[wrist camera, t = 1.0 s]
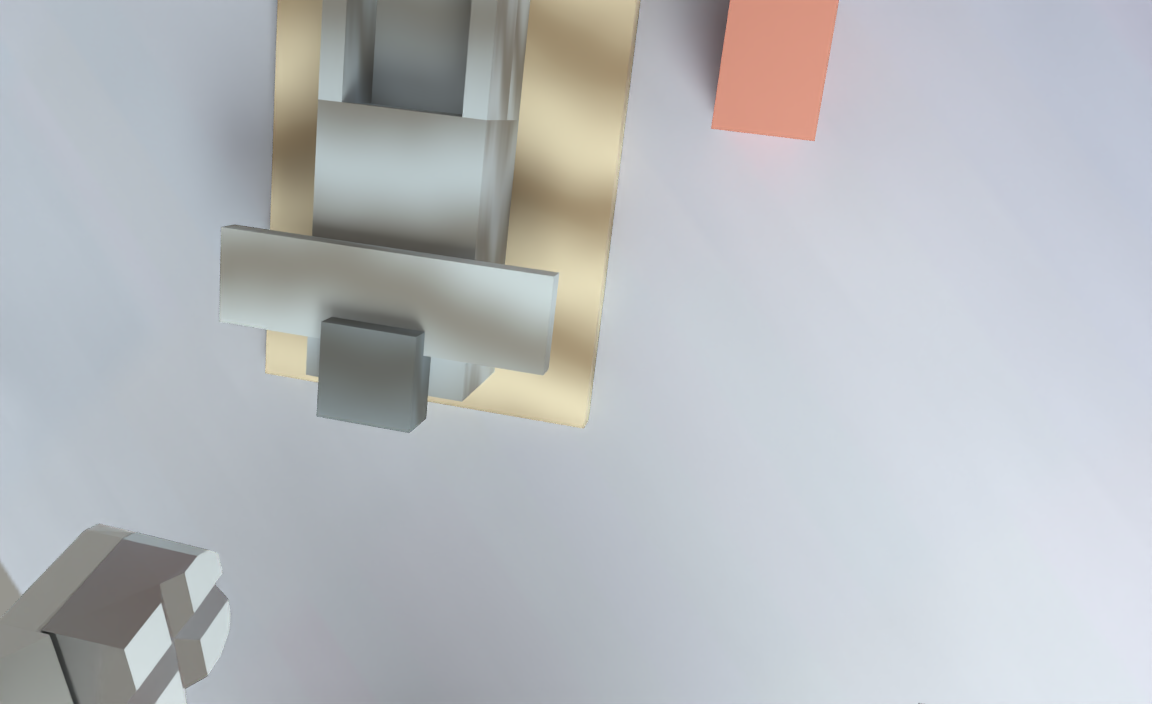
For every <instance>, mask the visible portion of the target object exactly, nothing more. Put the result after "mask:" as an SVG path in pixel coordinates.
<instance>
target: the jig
mask: <svg viewBox="0 0 1152 704" xmlns="http://www.w3.org/2000/svg"><path fill="white" fill-rule="evenodd" d="M639 8H640V0H278V6H277V36H276V66H275V96H274V126H273V156H272V186H271V216H270V230H268V229H261V228H254V227H247V226H240V225H229V226H224V227H221V259H220V308H219V322H223V323H229V324H235V325H241V326H247V327H253V328H259V329H265V330H267V336H266V365H265V373H267V374H272V375H278V376H284V377H290V378H296V379H301V380H307V381H313V382H318V398H317V417H323V418H329V419H334V420H340V421H345V422H351V423H356V424H362V425H368V426H373V427H379V428H384V429H390V430H396V431H401V432H407V433H410V432H411V431H412V430H413V429H414V428H416V427H417V426H418V425H419V424H420V423H421V422H422V421H424V420H425V419H426V414H427V401H428V402H434V403H440V404H446V405H452V406H457V407H463V408H469V409H475V410H480V411H486V412H492V413H498V414H503V415H509V416H515V417H521V418H527V419H532V420H538V421H544V422H550V423H555V424H561V425H567V426H573V427H579V428H584V427H585V425H586V424H587V422H588V419H589V411H590V403H591V395H592V387H593V379H594V371H595V363H596V355H597V346H598V338H599V330H600V322H601V314H602V306H603V298H604V290H605V282H606V274H607V266H608V258H609V250H610V242H611V234H612V225H613V217H614V209H615V201H616V193H617V185H618V177H619V169H620V161H621V153H622V145H623V137H624V129H625V121H626V113H627V104H628V96H629V88H630V80H631V72H632V64H633V56H634V48H635V40H636V32H637V24H638V16H639Z"/></svg>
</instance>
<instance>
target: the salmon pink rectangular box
mask: <svg viewBox="0 0 1152 704" xmlns="http://www.w3.org/2000/svg"><path fill="white" fill-rule="evenodd" d="M838 2H839V0H730V3H729V10H728V17H727V24H726V31H725V38H724V44H723V51H722V58H721V65H720V72H719V79H718V85H717V92H716V99H715V106H714V113H713V120H712V126H711V129H719V130H727V131H736V132H744V133H752V134H760V135H769V136H777V137H785V138H793V139H802V140H810V141H815V135H816V129H817V123H818V117H819V112H820V106H821V100H822V94H823V89H824V83H825V77H826V71H827V66H828V60H829V54H830V48H831V43H832V37H833V31H834V25H835V20H836V14H837V8H838Z"/></svg>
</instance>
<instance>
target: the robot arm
mask: <svg viewBox="0 0 1152 704" xmlns="http://www.w3.org/2000/svg"><path fill="white" fill-rule="evenodd" d="M222 574H223V570H222V566H221V562H220V558H219V554H218V553H217V552H214V551H210V550H207V549H203V548H199V547H195V546H191V545H187V544H183V543H179V542H175V541H171V540H167V539H163V538H158V537H154V536H150V535H146V534H142V533H138V532H133V531H129V530H124V529H120V528H116V527H112V526H107V525H103V524H97V525H95V526H93V527H90V528H88V529H86V530H85V531H83V532H82V533H81V534H80V535H79V536H78V537H77V538H76V540H75V541H74V542H73V543H72V544H71V545H70V546H69V547H68V548H67V549H66V550H65V551H64V552H63V553H62V554H61V555H60V556H59V557H58V558H57V559H56V560H55V562H54V563H53V564H52V565H51V566H50V567H49V568H48V569H47V570H46V571H45V572H44V573H43V574H42V575H41V576H40V577H39V578H38V579H37V580H36V581H35V582H34V583H33V585H32V586H31V587H30V588H29V589H28V590H27V591H26V592H25V593H24V594H23V595H22V596H21V597H20V598H19V599H18V600H17V601H16V602H15V603H14V604H13V605H12V606H11V608H10V609H9V610H8V611H7V612H6V613H5V614H4V615H3V616H2V617H1V618H0V704H187V699H186V688H187V687H189V686H191V685H193V684H195V683H196V682H198V681H200V680H202V679H203V678H205V677H207V676H208V675H209V674H210V672H211V670H212V669H213V667H214V666H215V664H216V663H217V661H218V659H219V658H220V656H221V654H222V651H223V648H224V646H225V643H226V640H227V637H228V634H229V631H230V619H231V611H230V606H229V600H228V598H227V597H226V596H225V595H224V594H223V593H222V592H221V590H220V589H219V588H218V587H217V586H216V585H215V583H216V582H217V581H218V579H219V578H220V577H221V575H222ZM918 704H923V703H918Z"/></svg>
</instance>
